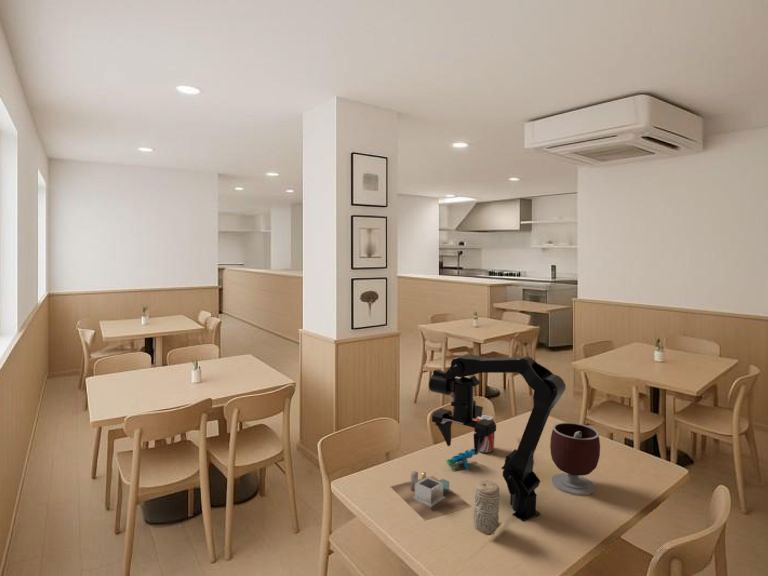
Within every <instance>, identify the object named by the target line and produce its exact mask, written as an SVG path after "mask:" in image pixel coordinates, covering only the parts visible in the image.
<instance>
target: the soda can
mask: <svg viewBox="0 0 768 576" xmlns="http://www.w3.org/2000/svg"><path fill="white" fill-rule="evenodd" d="M482 419H486V420H490V421H494V422H495V420H494V416H492V415H491V414H487V413H482V416H481V417H478V416H477V418H476V419H475V420H474V421H477V422H479V421H480V420H482ZM495 432H496V431H495ZM495 432H494V433H492V434H490V435H489V436H486V437H485V438H484V440H483V442H482V445H481V447H480V450H479V452H478V453H482V454H483V453H484V454H485V453H487V454H488V453H490V452H492V451H493V450H494V448H495V436H496V435H495ZM475 433H476V432H475V431H474V430H473V435H474V434H475Z"/></svg>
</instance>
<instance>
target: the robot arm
mask: <svg viewBox="0 0 768 576" xmlns="http://www.w3.org/2000/svg"><path fill="white" fill-rule="evenodd" d="M482 373H483V374H484V373H485V374H486V373H490V374H492V373H493V374H495V373H496V374H498V373H500V374H501V373H503V374H507V373H509V374H513V373H514V374H515V373H518V374H520V376H522V377H523V380H524V381H525V382H526V384H527V385H528V387H530V389H532V390H533V396H532V401H533V407H532V410H531V413H530V415H529V417H528V421H527V423H526V425H525V428H524V431H523V433H522V436H521V439H520V441H519V444H518V447H517V448H516V449H514V450H511V452H510V453H509V454H507V455H506V457H505V460H504V465H503V466H501V470H502V477H503V479H504V481H505V483H506V486H507V490H508V493H509V494H510V497H509V498H510V499H509V504H510V506H511V507H512V510H513V511H514V512H513V515H514V516H515V517H516V518H518V519H519V520H520V521H527V520H529V519H532V518H535V517H538V516H540V515H541V512H540V511H538V510H537V493H536V492H535V491H536V489H537V488H539V486H540V483H541V479H540V478H539V477H538V476H537V474H536V473H535V472H534V463H535V461H534V455H535V451H536V449H537V447H538V444H539V442H540V439H541V437H542V433H543V431H544V428H545V426H546V424H547V421H548V419H549V417H550V416H549V415H550V413H551V411H552V410H553V408H554V407H555V406H556V404H557V403H558V402H559V400H560V399H561V397H562V396H563V394H564V393H565V391H566V383H565V382H564V380H563V378H562V377H561V376H559V375H557V374H554V373H553V372H552V371H550V370H549V369H548V368H547V367H545V366H543V365H542V364H540V363H538V362H537V361H535V359H534V358H533V357H531V356H529V355H525V356H524V355H523V356H519V357H518V356H517V357H516V356H514V357H513V356H511V357H482V356H479V355H475V354H470V353H466V354H463V355H460V356H457V357H454V358H453V359H452V360H451V362H450V367H449V368H448V369H447V371H445V370H444V371H443V370H442V369H434V370H433V371H432V375H431V377H430V379H429V382H428V388H429V391H430V392H432V393H435V394H436V393H437V394H442V395H445V396H450V395H451V394H452V393H453V395H452V396H453V400H452V401H451V402H450V406H452V407H453V409H452V410H450V409H446V408H439V409H437V410H435V411H433V412H432V414H431V422H432V423H435V424H434V425H435V426H437V428H438V430H439V431H440V433H441V435H442V437H443V440H444V441H445V443H446V445H447V447H450V446H451V444H452V425H453V423H455V424H459V425H461V426H466V427H469V428H473V432H474V431H475V432H476V433H475V434H474V433H473V449H474V451H475V455H476V456H477V455H478V454H479V453H480V452H479V450H480V447H481V445H482V442H483V440H484V438H485V437H486V436H489V435H490V434H492V433H494V432H496V431H497V424H496V423H495V420H494V421H490V420H486V419H482V420H480V421H479V422H477V421H475V420H474V419H476V418H477V416H478V417H481V416H482V414H483V410H484V407H483V406H480V405H477V402H476V400H474V387H477V386H479V385H481V381H480V380H479V379H477V377H476V375H478V374H482ZM468 376H469V377H468ZM470 376H471V377H470ZM452 411H453V412H452ZM475 455H474V456H475Z"/></svg>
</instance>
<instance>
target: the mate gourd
mask: <svg viewBox="0 0 768 576" xmlns="http://www.w3.org/2000/svg"><path fill="white" fill-rule="evenodd" d="M599 436H600V434H599V431H598V430H597V429H595V428H594V427H592V426H589V425H587V424H586V425H585V424H581V423H577V422H558V423H556V424H554V425H553V426H552V431H551V435H550V442H549V443H550V444H549V445H550V448H549V449H550V456H551V461H552V462H553V463H554V464H555V466H556V467H557V469H559V470H560V471H562V473H556V474H554V475H553V476H552V477H551V484H552V486H553V487H554V488H555V489H557V490H558V491H561V492H562V493H566V494H569V495H572V496H573V495H574V496H589V495H592V494H594V492H595V491H596V490H595V488H596V486H595V484H594V483H593V481H591V480H590V479H589V478H586V477H584V476H588V475H590V474H591V473H592V472H593V471H595V469H596V468H597V466H598V463H599V459H600V455H601V443H600V437H599ZM591 493H592V494H591Z"/></svg>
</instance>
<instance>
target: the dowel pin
mask: <svg viewBox="0 0 768 576" xmlns="http://www.w3.org/2000/svg"><path fill="white" fill-rule="evenodd" d="M426 477H427V472H426V471H425V472H424V471H422V473H421V479H424V478H426Z"/></svg>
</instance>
